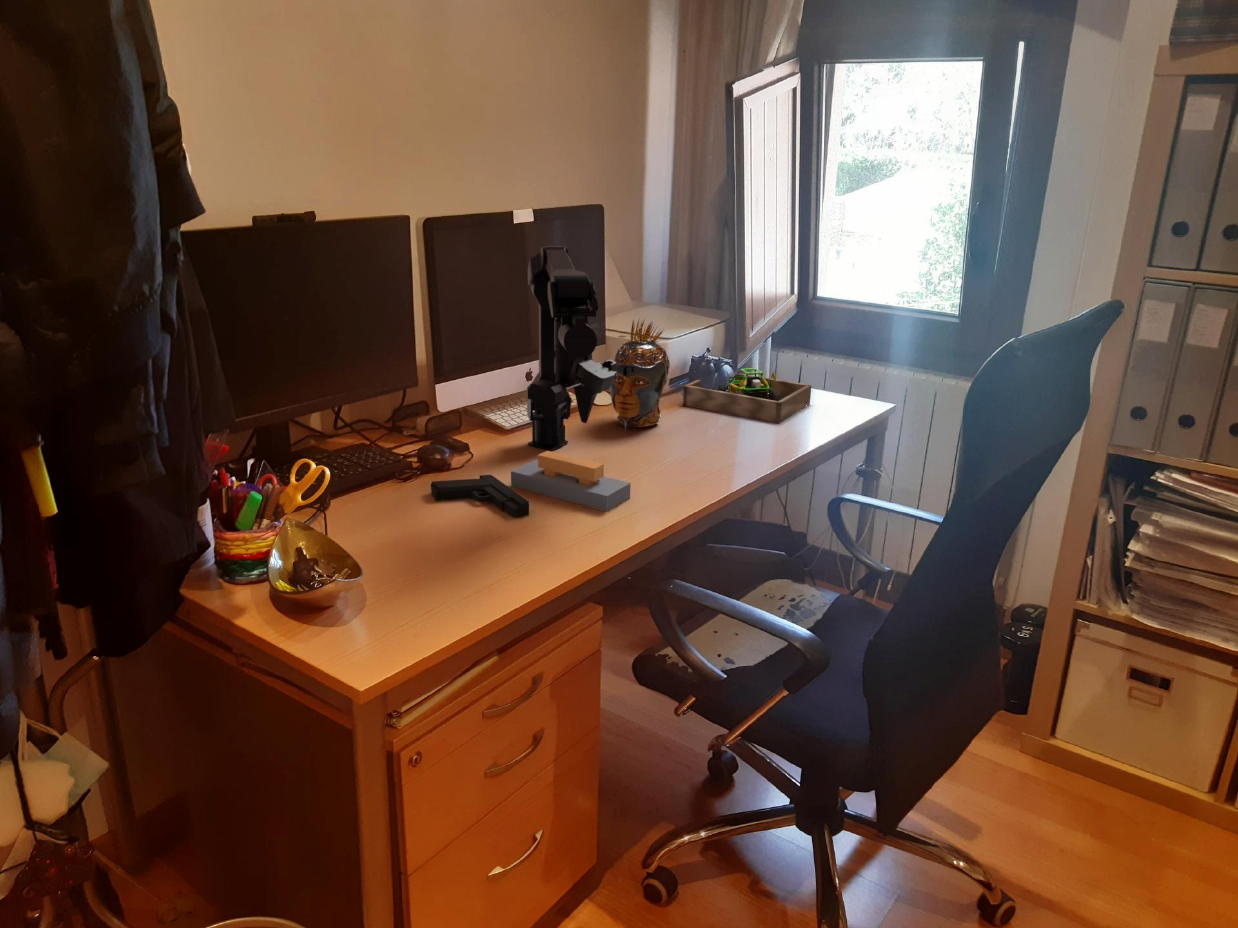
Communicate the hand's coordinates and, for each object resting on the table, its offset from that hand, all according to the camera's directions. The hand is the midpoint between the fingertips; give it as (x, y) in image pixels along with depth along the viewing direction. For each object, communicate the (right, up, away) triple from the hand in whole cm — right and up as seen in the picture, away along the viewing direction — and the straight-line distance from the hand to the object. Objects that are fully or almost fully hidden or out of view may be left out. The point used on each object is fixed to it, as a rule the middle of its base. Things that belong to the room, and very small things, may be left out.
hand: (570, 428), depth 169 cm
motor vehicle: (+42, +9, +63) cm, 76 cm away
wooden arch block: (0, -12, +4) cm, 13 cm away
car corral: (+42, +9, +63) cm, 76 cm away
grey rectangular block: (0, -12, +4) cm, 13 cm away
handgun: (-17, -15, -2) cm, 22 cm away
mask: (+14, +3, +46) cm, 48 cm away
